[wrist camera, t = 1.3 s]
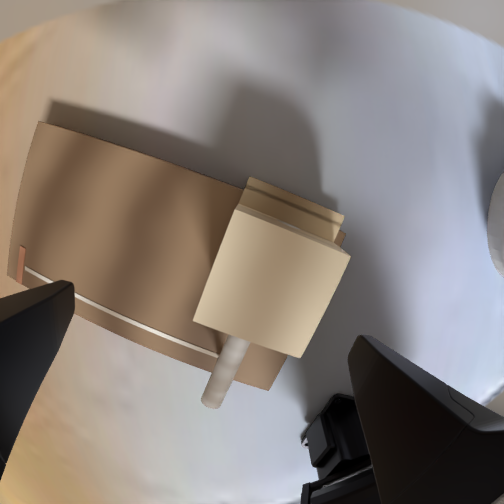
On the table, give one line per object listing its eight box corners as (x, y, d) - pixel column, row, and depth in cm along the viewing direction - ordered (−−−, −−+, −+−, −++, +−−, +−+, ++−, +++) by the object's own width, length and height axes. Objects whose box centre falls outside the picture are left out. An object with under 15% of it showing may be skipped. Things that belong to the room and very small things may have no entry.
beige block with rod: (323, 207, 20) (364, 224, 12) (251, 365, 23) (250, 442, 15) (250, 177, 20) (248, 174, 12) (187, 343, 22) (160, 414, 14)
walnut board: (337, 228, 21) (346, 234, 18) (267, 375, 23) (268, 391, 21) (53, 124, 19) (37, 121, 17) (21, 268, 21) (6, 275, 19)
